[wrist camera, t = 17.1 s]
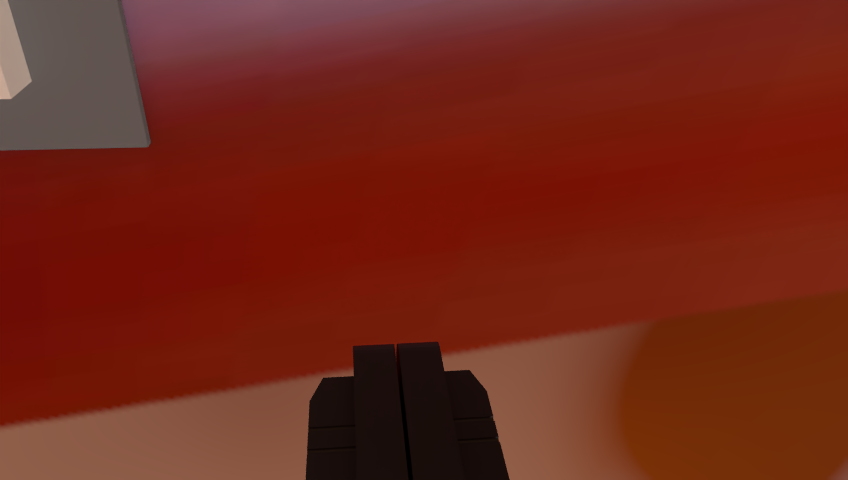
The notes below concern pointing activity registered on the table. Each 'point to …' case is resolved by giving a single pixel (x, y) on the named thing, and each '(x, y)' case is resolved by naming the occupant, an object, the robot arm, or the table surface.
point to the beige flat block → (11, 56)
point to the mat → (74, 79)
